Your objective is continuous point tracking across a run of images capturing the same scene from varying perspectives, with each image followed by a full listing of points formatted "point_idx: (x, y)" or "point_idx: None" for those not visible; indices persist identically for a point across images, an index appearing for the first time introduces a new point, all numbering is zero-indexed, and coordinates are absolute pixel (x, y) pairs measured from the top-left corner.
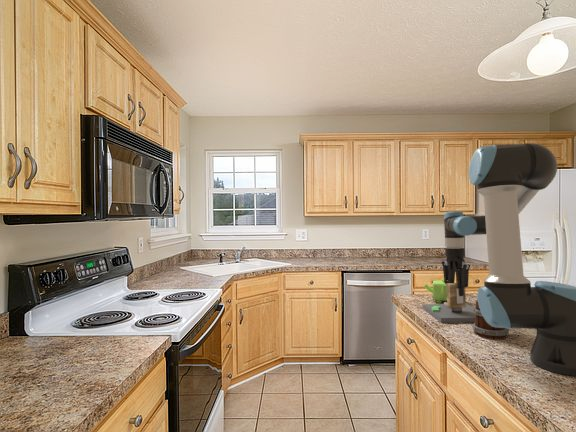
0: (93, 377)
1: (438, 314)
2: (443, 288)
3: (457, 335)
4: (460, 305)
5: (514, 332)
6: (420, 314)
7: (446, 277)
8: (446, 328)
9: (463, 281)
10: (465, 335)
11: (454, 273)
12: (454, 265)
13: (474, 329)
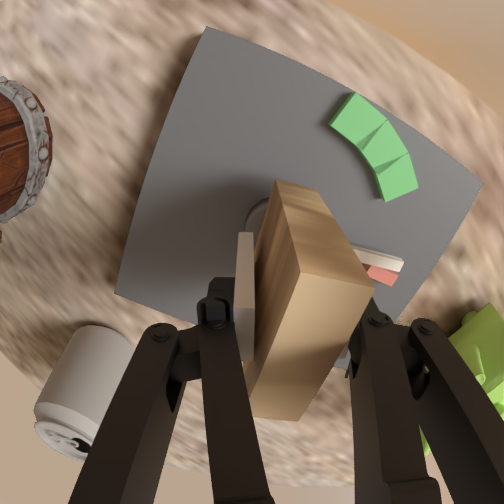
0: None
1: (279, 69)
2: (476, 366)
3: (39, 2)
4: (254, 256)
5: (9, 244)
6: (404, 65)
7: (437, 379)
8: (124, 3)
9: (127, 378)
10: (25, 34)
11: (358, 475)
12: None
13: (1, 77)
